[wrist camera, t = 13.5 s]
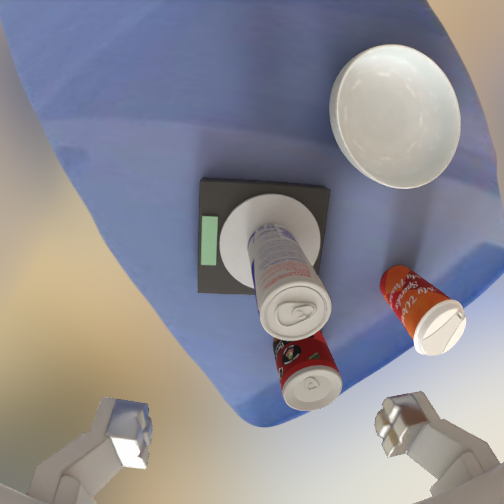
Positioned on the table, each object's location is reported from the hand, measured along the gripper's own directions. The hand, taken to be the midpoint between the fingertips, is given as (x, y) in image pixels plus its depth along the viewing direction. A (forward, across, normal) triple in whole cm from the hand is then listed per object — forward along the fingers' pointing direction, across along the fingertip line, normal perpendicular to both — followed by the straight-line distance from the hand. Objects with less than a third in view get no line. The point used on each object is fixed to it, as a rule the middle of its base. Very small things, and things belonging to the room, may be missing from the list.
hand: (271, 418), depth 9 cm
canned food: (+31, -10, +20) cm, 38 cm away
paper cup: (+31, -24, +10) cm, 41 cm away
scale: (+31, -3, +4) cm, 31 cm away
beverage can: (+28, -4, +4) cm, 29 cm away
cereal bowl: (+31, -17, -13) cm, 38 cm away
